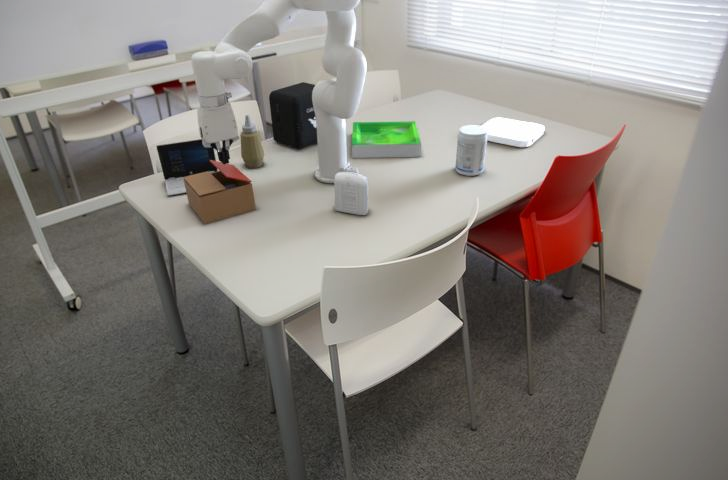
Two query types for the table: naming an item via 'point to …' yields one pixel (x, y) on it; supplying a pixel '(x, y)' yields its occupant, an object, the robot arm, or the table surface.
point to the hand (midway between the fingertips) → (224, 162)
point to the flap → (230, 171)
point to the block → (229, 187)
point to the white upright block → (351, 193)
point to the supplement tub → (471, 150)
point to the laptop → (184, 163)
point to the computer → (513, 132)
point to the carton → (218, 196)
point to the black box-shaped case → (293, 116)
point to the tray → (385, 139)
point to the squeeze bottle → (251, 145)
